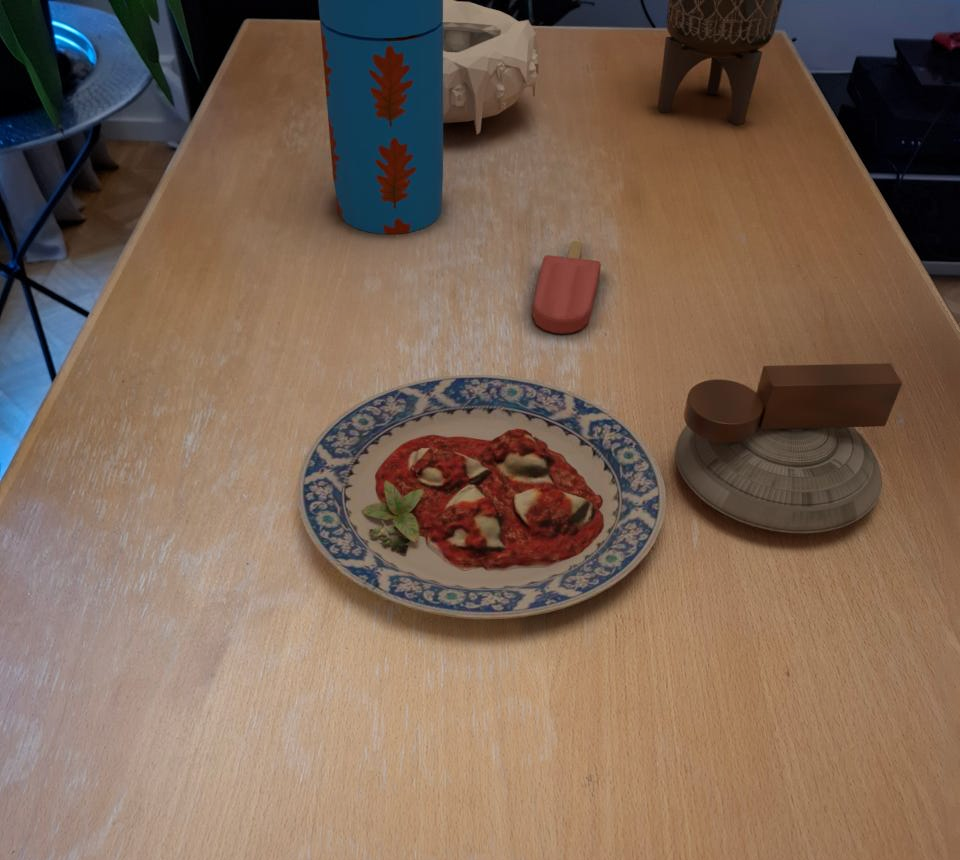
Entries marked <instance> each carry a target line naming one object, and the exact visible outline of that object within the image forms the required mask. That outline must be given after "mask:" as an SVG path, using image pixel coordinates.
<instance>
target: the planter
mask: <svg viewBox="0 0 960 860" xmlns="http://www.w3.org/2000/svg"><path fill="white" fill-rule="evenodd" d="M783 1H784V0H668V2H667V11H666V30H667V33H668V34H669V36H665V41H664V51H663V58H662V59H663V60H662V68H661V77H660V86H659V92H658V93H659V94H658V102H657V109H658V110H659V112H660V113H670V112H671V109H672V106H673V102H674V99H675V97H676V94H677V91H678V89H679V87H680V84H681V83H682V81H683V79H684V78H685V77H686V76H687V74H688V73H689V72H690V71H691V70H692V69H694V67H696V66H697V65H698V64H700V63H701V62H704V61H706V60H708V59H711V62H710V69H709V77H708V82H707V87H706V88H707V89H706V94H707V95H711V96H717V95H718V94H719V92H720V87H721V82H722V77H723V72H724V71H725V73H726V75H727V78H728V81H729V86H730V91H731V112H730V119H729V122H730V123H731V124H733V125H735V126H740V125H742V124H745V121H746V118H747V114H748V111H749V106H750V102H751V98H752V94H753V90H754V87H755V86H754V85H755V84H756V80H757V79H756V78H757V75H758V72H759V71H758V70H759V67H760V64H761V60H762V55H763V51H762V50H760V49H762V48H764V47H765V46H767V45H768V44H769V42H770V41H771V40H772V38H773V36H774V34H775V31H776V27H777V23H778V19H779V15H780V12H781V7H782V6H783V5H782V4H783Z"/></svg>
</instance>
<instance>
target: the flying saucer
mask: <svg viewBox="0 0 960 860" xmlns="http://www.w3.org/2000/svg"><path fill="white" fill-rule="evenodd" d="M674 450H675V462H676V466H677V469H678V471H679V473H680V476H681V477H682V479H683V480H684V482H685V483H686V485H687V486H688V488H689V489H690V490H691V491H692V492H693V493H694V494H695V495H696V497H698V498H699V499H700V500H702V501H703V502H704V503H705V504H707V505H708V506H710V507H711V508H712V509H714V510H715V511H718V512H719V513H721V514H722V515H724V516H726V517H728V518H729V519H733V520H735V521H737V522H740V523H742V524H745V525H747V526H751V527H754V528H758V529H762V530H766V531H770V532H777V533H784V534H817V533H825V532H830V531H833V530H834V531H835V530H838V529H841V528H844V527H846V526H849V525H851V524H853V523H856V522H857V521H859V520H860V519H862V518H863V517H865V516H866V515H867V514H869V512H870V511H871V510H872V509H873V508H874V507H875V505H876V504H877V502H878V501H879V498H880V495H881V492H882V486H883V479H882V478H883V477H882V473H881V469H880V464H879V462H878V459H877V457H876V455H875V453H874V451H873V450H872V447H871V446H870V445H869V442H868V441H867V440H866V439H865V437H863V435H862V434H861V433H860V432H859V431H858V430H857V429H856V427H838V428H796V429H760V428H759V425H758V428H757V431H756V432H755V433H754V434H753V435H752V436H751V437H750V438H748V439H746V440H743V441H740V442H734V443H722V442H716V441H711V440H708V439H705V438H703V437H701V436H699V435H697V434H696V433H694V432H693V431H692V430H691V429H690V428H689V427H688V426H687V425H685V427H684V428H683V429H682V431H681V432H680V434H679V436H678V438H677V441H676V444H675V449H674Z"/></svg>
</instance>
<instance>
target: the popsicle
mask: <svg viewBox="0 0 960 860" xmlns="http://www.w3.org/2000/svg"><path fill="white" fill-rule="evenodd" d="M582 250H583V243H582V242H581V241H577V240H575V241H574V240H573V241H571V242H570V245H569V248H568V254H567V256H559V255H551V254H546V255H544V257H543V259H542V263H541V267H540V271H539V274H538V279H537V282H536V283H537V284H536V288H535V292H534V298H533V303H532V312H531V313H532V314H531V315H532V317H533V319H534V322H535V325H537V326H538V327H539V328H541V329H542V330H543V331H547V332H550V333H554V334H562V335H563V334H572V333H575V332H579V331H581V330H582V329H583V328H585V326H586V325H587V324H588V323H589V322H590V317H591V314H592V310H593V305H594V303H595V299H596V294H597V289H598V285H599V281H600V274H601V268H602V267H601V266H602V264H601V261H599V260H593V259H584V258H583V259H582V258H581V255H582Z"/></svg>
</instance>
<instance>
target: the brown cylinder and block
mask: <svg viewBox="0 0 960 860" xmlns="http://www.w3.org/2000/svg"><path fill="white" fill-rule="evenodd" d="M762 367H763V368H762V370H761V374H760V377H759V381H758V384H757V389H756V391H755V390H754V389H752V387H749V386H747V385H745V384H743V383H741V382H737V381H733V380H729V379H709V380H704V381H701V382H698V383H696V384H695V385H694V386H692V388H691V389H690V390H689V392H688V393H687V398H686V402H685V407H684V411H683V419H684V423H685V424H686V426H688V427H689V428H690V429H691V430H692V431H693V432H694V433H696V434H697V435H699V436H701V437H703V438H705V439H708V440H711V441H716V442H722V443H734V442H740V441H743V440H746V439H748V438H750V437H751V436H752V435H753V434H754V433H755V432H756V431H757V428H758V425H759V428H760V429H796V428H838V427H854V428H873V427H874V428H876V427H877V428H878V427H879V428H880V427H885V426H886V424H887V423H888V420H889V418H890V415H891V413H892V410H893V407H894V405H895V402H896V400H897V398H898V395H899V393H900V390H901V388H902V385H903V381H902V380H901V378H900V376H899V375H898V373H897V372H896V370H895V368H894V366H893V365H892V363H887V362H886V363H842V364H841V363H839V364H837V363H835V364H832V363H831V364H789V365H788V364H786V365H785V364H783V365H763V366H762Z"/></svg>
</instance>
